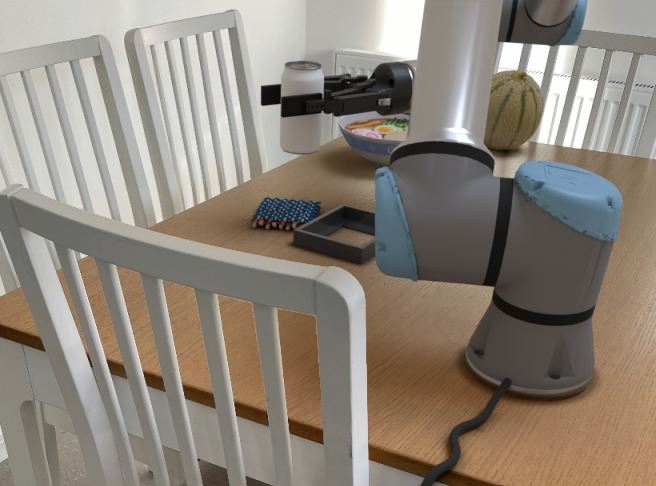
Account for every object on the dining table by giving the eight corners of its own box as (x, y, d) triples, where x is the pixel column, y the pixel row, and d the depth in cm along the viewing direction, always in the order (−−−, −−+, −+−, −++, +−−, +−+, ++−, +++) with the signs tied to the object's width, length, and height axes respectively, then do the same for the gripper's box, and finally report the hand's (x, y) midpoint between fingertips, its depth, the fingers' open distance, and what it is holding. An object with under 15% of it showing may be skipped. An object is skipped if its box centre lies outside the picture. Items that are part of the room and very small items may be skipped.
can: (271, 148, 131) (272, 63, 123) (300, 140, 134) (303, 58, 126) (299, 157, 127) (302, 71, 119) (328, 149, 130) (333, 65, 123)
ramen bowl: (307, 158, 165) (309, 115, 160) (383, 138, 177) (387, 96, 172) (402, 191, 151) (407, 144, 146) (477, 166, 163) (485, 122, 158)
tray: (361, 264, 125) (362, 248, 124) (292, 244, 131) (293, 229, 129) (407, 234, 135) (409, 220, 133) (342, 217, 140) (343, 203, 139)
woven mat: (261, 206, 144) (261, 194, 143) (321, 211, 143) (322, 199, 141) (249, 228, 136) (249, 215, 135) (312, 233, 135) (313, 221, 133)
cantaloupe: (486, 134, 181) (499, 57, 172) (547, 148, 174) (565, 69, 164) (450, 148, 173) (462, 68, 163) (513, 163, 165) (529, 81, 156)
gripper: (432, 128, 128) (300, 145, 120) (368, 99, 141) (245, 112, 133) (439, 75, 123) (302, 88, 115) (372, 49, 136) (245, 60, 128)
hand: (272, 101), depth 124 cm, fingers closed on can, 6 cm apart
